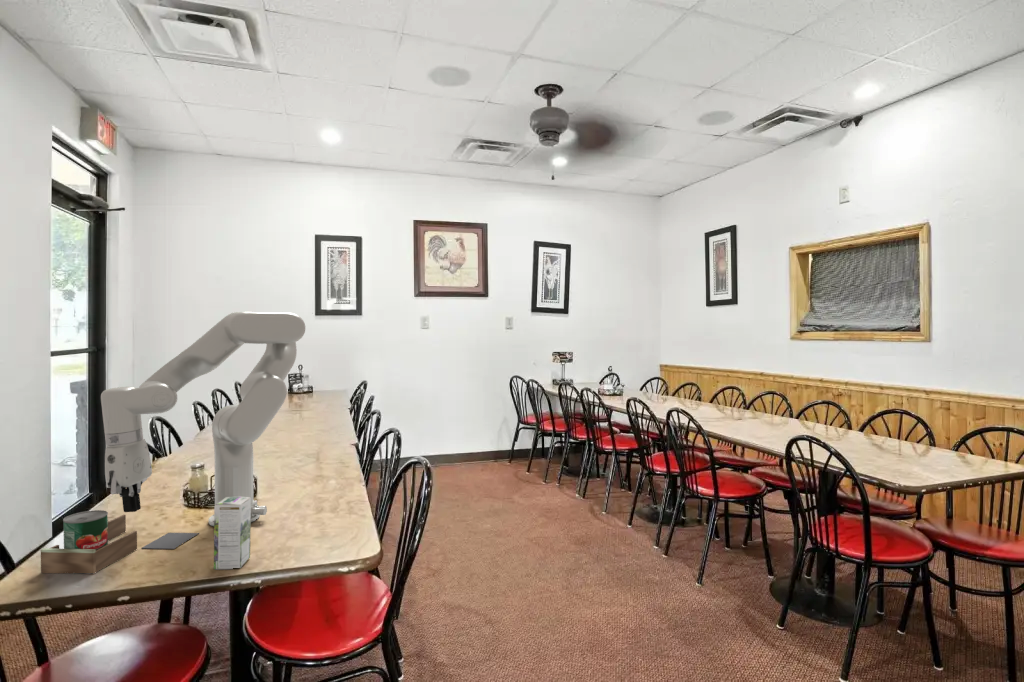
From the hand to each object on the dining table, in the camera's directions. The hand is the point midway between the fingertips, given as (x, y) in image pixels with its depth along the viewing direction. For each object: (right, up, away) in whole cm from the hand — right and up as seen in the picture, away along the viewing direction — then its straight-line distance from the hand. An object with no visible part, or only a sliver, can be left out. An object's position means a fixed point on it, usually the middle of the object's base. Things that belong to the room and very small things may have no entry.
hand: (132, 510), depth 136 cm
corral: (-2, -8, -6) cm, 10 cm away
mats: (+1, -8, -3) cm, 9 cm away
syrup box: (+31, -8, -13) cm, 35 cm away
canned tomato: (-1, -8, -13) cm, 15 cm away
